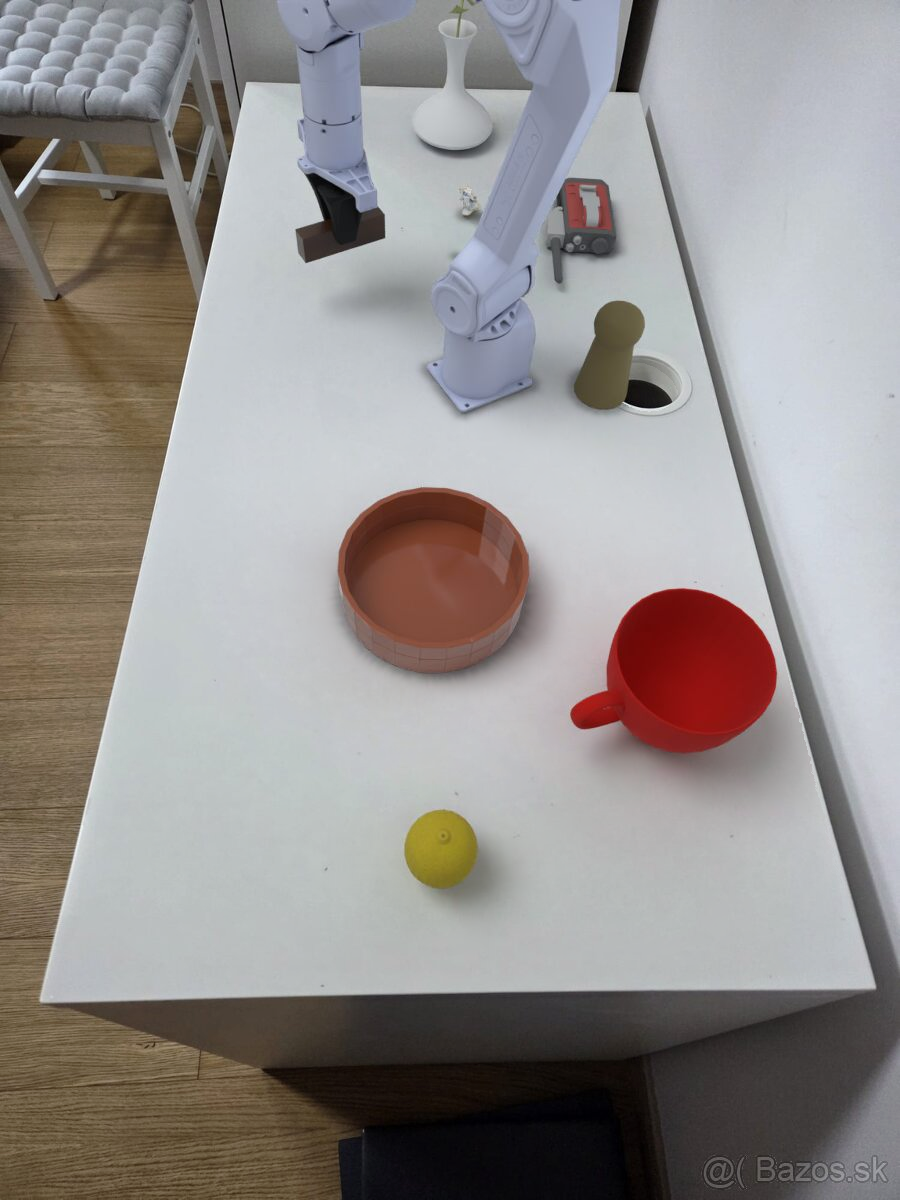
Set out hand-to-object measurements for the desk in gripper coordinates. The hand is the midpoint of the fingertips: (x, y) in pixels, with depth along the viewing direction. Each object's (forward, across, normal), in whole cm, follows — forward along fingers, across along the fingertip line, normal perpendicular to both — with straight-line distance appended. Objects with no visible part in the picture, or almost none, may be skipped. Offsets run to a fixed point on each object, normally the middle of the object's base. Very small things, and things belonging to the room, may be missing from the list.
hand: (341, 234), depth 90 cm
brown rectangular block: (+1, 0, 0) cm, 1 cm away
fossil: (+7, -2, +23) cm, 24 cm away
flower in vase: (+8, -24, +29) cm, 39 cm away
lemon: (+9, +63, -23) cm, 68 cm away
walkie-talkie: (+8, +4, +32) cm, 33 cm away
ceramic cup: (+9, +61, -1) cm, 62 cm away
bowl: (+8, +41, -11) cm, 44 cm away
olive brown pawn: (+8, +27, +18) cm, 34 cm away
